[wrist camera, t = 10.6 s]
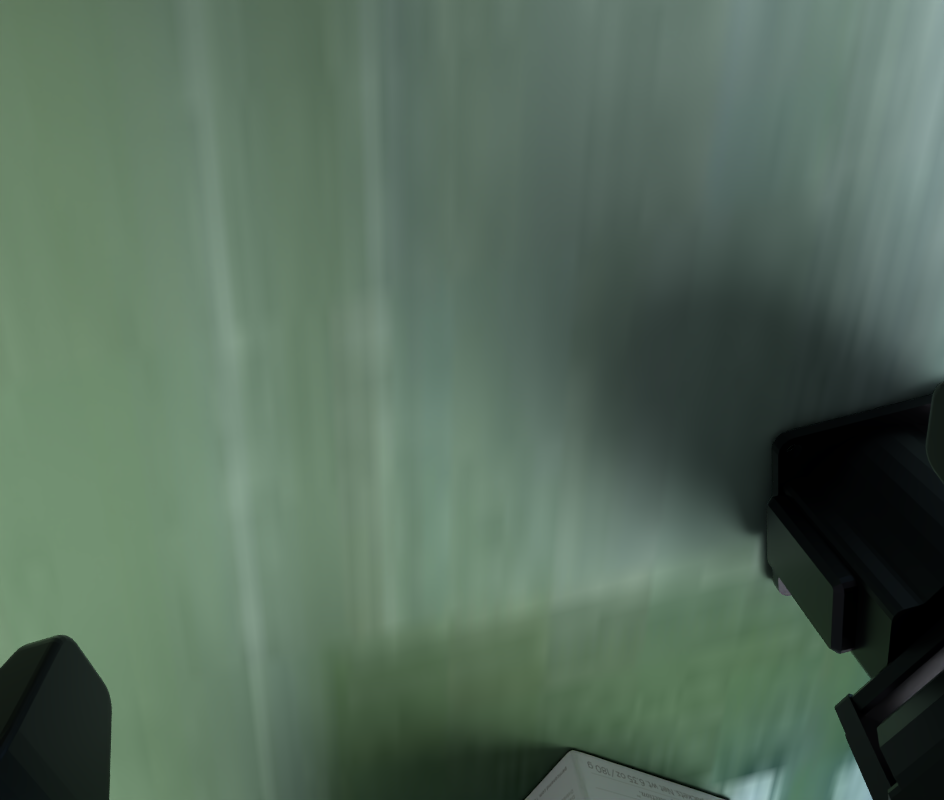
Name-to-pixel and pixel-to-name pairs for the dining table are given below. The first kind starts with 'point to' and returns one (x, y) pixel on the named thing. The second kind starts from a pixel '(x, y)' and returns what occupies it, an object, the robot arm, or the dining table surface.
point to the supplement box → (607, 782)
